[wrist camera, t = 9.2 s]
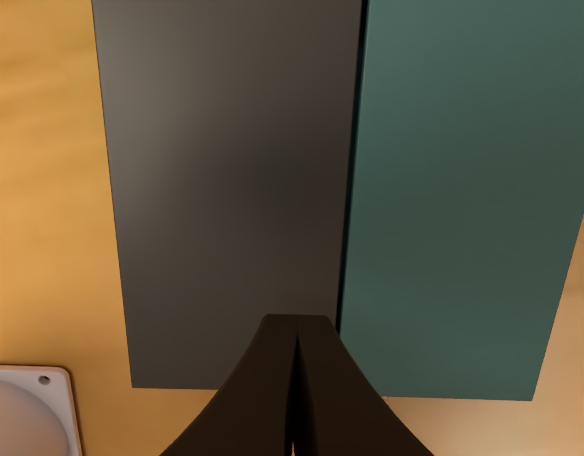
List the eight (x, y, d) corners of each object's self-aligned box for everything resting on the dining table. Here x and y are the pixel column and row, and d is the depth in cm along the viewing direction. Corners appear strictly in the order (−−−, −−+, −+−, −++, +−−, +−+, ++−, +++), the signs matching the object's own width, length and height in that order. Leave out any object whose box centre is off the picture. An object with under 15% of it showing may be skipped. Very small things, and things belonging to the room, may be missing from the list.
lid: (134, 381, 16) (131, 388, 16) (87, -78, 11) (81, -81, 11) (329, 385, 16) (330, 392, 16) (365, -65, 11) (368, -68, 11)
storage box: (173, 292, 22) (129, 389, 16) (152, -46, 17) (78, -84, 11) (470, 302, 22) (534, 402, 16) (537, -31, 17) (663, -60, 11)
